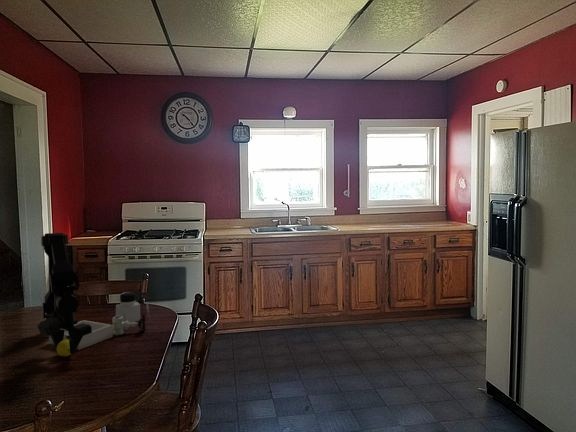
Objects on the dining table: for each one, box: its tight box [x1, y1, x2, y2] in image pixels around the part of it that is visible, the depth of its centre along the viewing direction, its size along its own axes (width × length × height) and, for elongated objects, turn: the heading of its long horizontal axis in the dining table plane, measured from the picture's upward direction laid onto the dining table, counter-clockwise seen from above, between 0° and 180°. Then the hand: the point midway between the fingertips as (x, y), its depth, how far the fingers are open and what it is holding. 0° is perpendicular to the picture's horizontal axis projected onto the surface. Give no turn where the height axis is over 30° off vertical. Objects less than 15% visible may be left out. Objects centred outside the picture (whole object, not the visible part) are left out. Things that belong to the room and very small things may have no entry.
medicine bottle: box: [115, 291, 142, 323], centre depth 184 cm, size 7×7×12 cm
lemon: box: [55, 340, 71, 357], centre depth 145 cm, size 7×5×5 cm
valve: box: [111, 314, 146, 336], centre depth 169 cm, size 7×7×12 cm
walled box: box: [48, 319, 114, 351], centre depth 160 cm, size 15×15×4 cm
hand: (65, 352), depth 145 cm, fingers closed on lemon, 6 cm apart
